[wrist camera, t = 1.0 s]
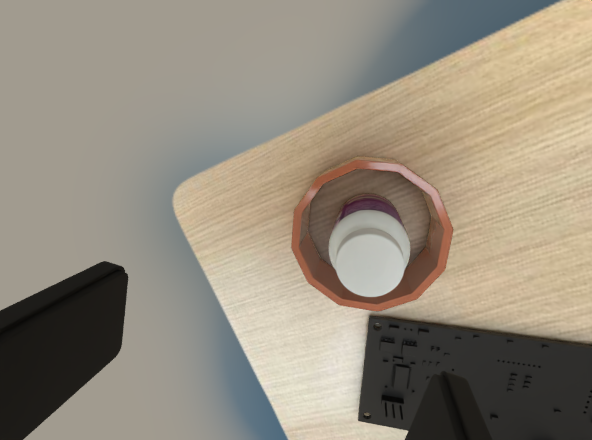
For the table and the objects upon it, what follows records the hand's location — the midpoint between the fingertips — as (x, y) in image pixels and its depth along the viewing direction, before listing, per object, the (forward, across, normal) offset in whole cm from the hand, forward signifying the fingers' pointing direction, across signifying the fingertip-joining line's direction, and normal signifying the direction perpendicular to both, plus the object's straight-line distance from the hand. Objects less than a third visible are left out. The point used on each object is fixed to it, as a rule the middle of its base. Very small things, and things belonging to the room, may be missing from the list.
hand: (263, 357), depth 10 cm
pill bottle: (+20, -3, 0) cm, 20 cm away
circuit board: (+20, -20, +13) cm, 31 cm away
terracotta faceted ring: (+20, -3, 0) cm, 20 cm away
